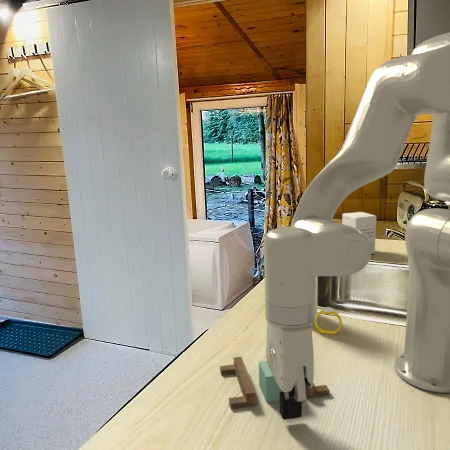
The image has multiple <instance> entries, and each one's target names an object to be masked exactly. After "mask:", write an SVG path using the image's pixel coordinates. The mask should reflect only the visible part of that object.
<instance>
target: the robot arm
mask: <svg viewBox="0 0 450 450" xmlns="http://www.w3.org/2000/svg"><path fill="white" fill-rule="evenodd" d="M365 86H366V87H365V89H364V91H363V94H362V97H361V99H360V101H359V104H358V107H357V110H356V112H355V114H354V117H353V119H352V122H351V124H350V126H349V129H348V131H347V134H346V135H345V139H344V141H343V144H342V146H341V148H340V150H339V152H338V153H337V154H336V155H335V156H334V157H333V158H332V159H331V160H330V161H328V163H326V165H325V166H324V167H322V169H321V170H320V172H318V174H317V175H316V176H315V177H314V179H312V181H311V182H310V183H309V185H308V186H307V187H306V188H305V190H304V191H303V194H302V196H301V198H300V200H299V202H298V205H297V208H296V210H295V212H294V215H293V216H292V217H293V218H292V221H291V223H290V226H285V227H284V226H283V227H278V228H273V229H271V230H269V231H268V232H266V234H265V237H264V240H263V241H264V242H263V256H264V261H263V262H264V305H265V311H264V313H265V321H266V348H265V349H266V351H265V359H266V360H265V361H267V364H268V366H269V368H270V371H271V373H272V375H273V377H274V379H275V381H276V382H277V384H278V386H279V388H280V391H281V392H279V401H278V402H279V414H280V415H281V417H282V419H283V420H290V419H291V420H293V419H296V418H297V419H299V418H301V417H302V416H303V409H302V408H303V402H305V401H307V398H306V391H305V385H306V386H307V387H308V388H309V389H311V388H312V386H313V383H314V378H315V377H314V375H315V360H314V340H313V339H314V338H313V332H312V331H313V329H312V325H313V324H315V298H316V277H318V278H319V277H347V276H351V275H355V274H357V273H359V272H361V271H362V270H363V269H364V268H365V267H366V266H367V265H368V264H369V263H370V260H371V258H372V255H371V254H372V247H371V243H370V241H369V239H368V237H367V236H366V235H365V234H364V233H363V232H361V231H360V230H358V229H356V228H354V227H351V226H348V225H344V224H342V222H337V221H334V220H333V218H334V216H335V214H336V212H337V210H338V209H339V207H340V205H341V204H342V203H343V201H344V200H345V199H346V198H347V197H348V196H349V195H350V194H352V193H353V192H355V191H357V189H359V188H362V187H363V186H366V185H367V184H370V183H372V182H374V181H376V180H378V179H381V178H383V177H385V176H388V175H389V174H390V173H392V172H393V171H394V170H395V169H396V167H397V165H398V162H399V159H400V157H401V154H402V152H403V150H404V147H405V145H406V142H407V140H408V137H409V135H410V133H411V130H412V127H413V125H414V123H415V121H416V118H417V117H418V116H421V115H432V116H431V117H432V124H431V125H432V126H431V134H430V140H429V146H428V147H429V148H428V151H427V152H428V153H427V158H426V165H425V169H424V170H425V171H424V178H423V181H424V182H423V185H424V190H425V192H426V193H427V194H428V196H430V197H431V198H433V199H435V200H439V201H444V202H449V203H450V32H446V33H442V34H439V35H436V36H432V37H431V38H428V39H426V40H424V41H422V42H421V43H419V44H418V45H416V46H415V48H414V49H413V50H412V52H411V53H410V54H408V55H403V56H400V57H397V58H396V57H395V58H393V59H390V60H387V61H386V62H383V63H382V64H380V65H378V66H377V68H375V70H374V71H373V72H372V73H371V75H370V77H369V79H368V82H367V84H366V85H365ZM404 242H405V248H406V254H407V261H408V286H407V287H408V289H407V304H406V319H405V320H406V321H405V336H404V352H403V353H402V354H400V355H399V356H397V358H396V359H395V361H394V369H395V372H396V373H397V375H398V376H399V377H400V378H401V379H402V380H403V381H404V382H406V383H407V384H409V385H411V386H414V387H416V388H419V389H422V390H425V391H429V392H434V393H441V394H445V393H446V394H447V393H449V394H450V209H446V208H438V207H437V208H426V209H422V210H420V211H417V212H416V213H414V214H413V216H412V217H411V218H410V219H409V220H408V222H407V225H406V228H405V235H404Z"/></svg>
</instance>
